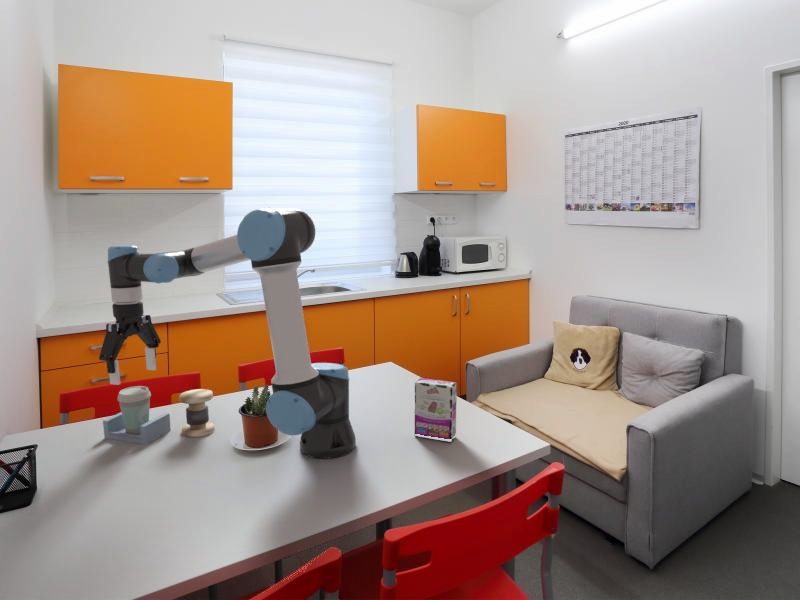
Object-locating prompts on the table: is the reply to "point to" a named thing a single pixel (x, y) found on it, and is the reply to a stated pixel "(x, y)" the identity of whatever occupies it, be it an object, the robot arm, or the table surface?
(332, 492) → the table surface
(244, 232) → the robot arm
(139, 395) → the coffee cup
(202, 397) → the bobbin
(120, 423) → the u-shaped channel bracket
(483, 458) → the table surface
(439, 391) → the candy bar box
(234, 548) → the table surface
